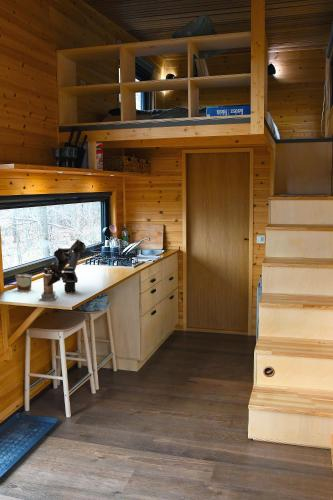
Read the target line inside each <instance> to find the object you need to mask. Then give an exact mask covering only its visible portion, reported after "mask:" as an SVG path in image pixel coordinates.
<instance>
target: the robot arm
mask: <svg viewBox="0 0 333 500" xmlns="http://www.w3.org/2000/svg"><path fill="white" fill-rule="evenodd" d="M86 248H87V247H86V244H85V243H84V242H83V241H82V240H80V239H78V238H72V239H71V240H70V242H69V243H68V244H67V245H66V246H62V247H58V248H57V249H56V250H55V251H54V252H53V256H54V257H55V259H56V261H57V262H47V261H46V262H45V265H44V267H45V268H43V269H42V273H44V275H45V274H52V278H51V280H50V282H49V283H48V286H50V285H52V284H53V285H54V284H56V283H57V282H60V281H62V283H63V284H64V293H76V292H77V291H76V284H77V283H78V280H79V279H78V277H77V274H76V268H77V266H78V261H80V257H81V255H82V254H84V253H85V250H86ZM69 258H70V259H69ZM67 265H68V266H67Z"/></svg>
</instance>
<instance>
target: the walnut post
mask: <svg viewBox="0 0 333 500" xmlns="http://www.w3.org/2000/svg"><path fill="white" fill-rule="evenodd" d="M42 276H43V277H42V278H43V279H42V280H43V291H44V294H53V291H54V284H52V285H50V286H48V283H49V282H50V280H51V278H52V274H45V273H44V274H43V275H42Z"/></svg>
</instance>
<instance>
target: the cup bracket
mask: <svg viewBox="0 0 333 500" xmlns="http://www.w3.org/2000/svg"><path fill="white" fill-rule="evenodd" d="M58 297H59V296H58V294H56V291H54V290H53V294H44V290H43V291H42V292H41V295H40V296H39V299H38V300H39V302H40V301H41V302H44V301H57V299H58Z"/></svg>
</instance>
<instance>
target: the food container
mask: <svg viewBox="0 0 333 500" xmlns="http://www.w3.org/2000/svg"><path fill="white" fill-rule="evenodd" d="M14 277H15V281H16V286H17V291H25V292H29V291H31V290H32V282H33V281H32V280H33V276H32V274H30V273H29V274H28V273H21V274H20V273H19V274H15V276H14Z"/></svg>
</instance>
